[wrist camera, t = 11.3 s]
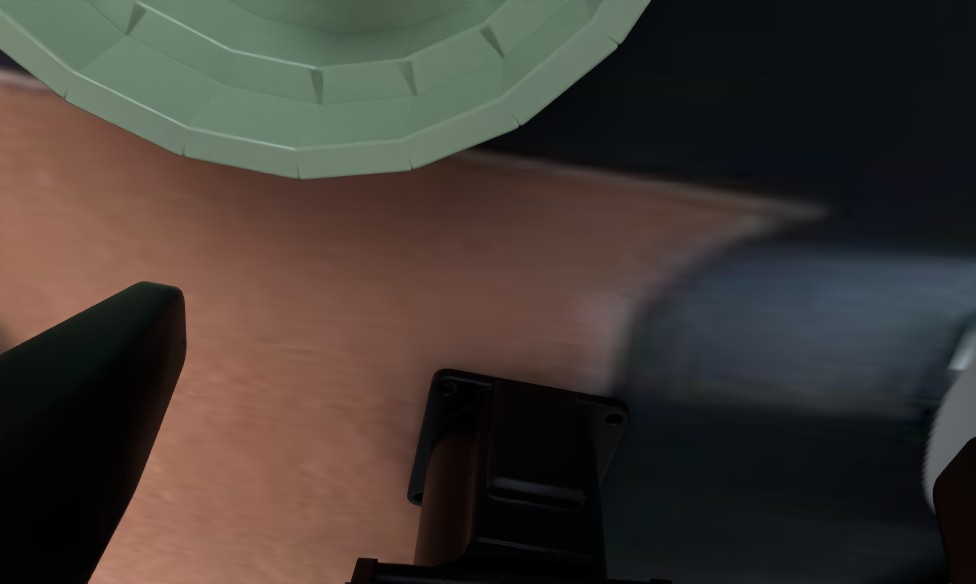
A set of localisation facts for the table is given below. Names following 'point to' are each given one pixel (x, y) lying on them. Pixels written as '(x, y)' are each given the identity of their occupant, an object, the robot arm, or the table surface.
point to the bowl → (314, 72)
